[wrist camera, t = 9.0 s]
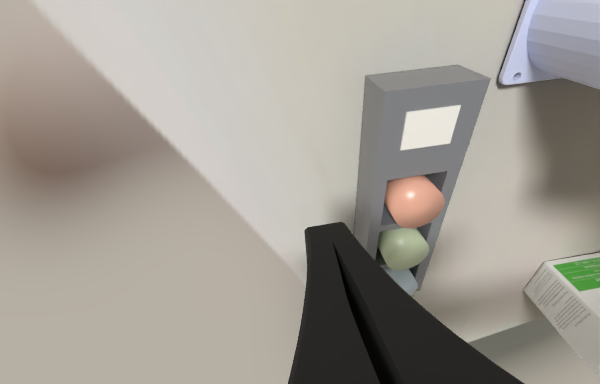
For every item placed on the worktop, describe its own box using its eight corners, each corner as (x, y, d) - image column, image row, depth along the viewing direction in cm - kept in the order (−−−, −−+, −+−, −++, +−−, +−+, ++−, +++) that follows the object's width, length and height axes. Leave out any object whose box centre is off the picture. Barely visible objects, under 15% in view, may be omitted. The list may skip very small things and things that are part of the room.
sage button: (414, 210, 24) (433, 236, 21) (407, 239, 26) (424, 266, 23) (374, 217, 23) (389, 244, 21) (370, 245, 26) (383, 273, 23)
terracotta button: (426, 161, 21) (450, 185, 18) (417, 198, 23) (437, 224, 21) (380, 168, 20) (398, 193, 18) (375, 205, 23) (391, 232, 20)
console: (457, 64, 18) (492, 78, 15) (405, 265, 30) (420, 291, 28) (365, 75, 17) (385, 92, 15) (350, 275, 30) (360, 302, 27)
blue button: (405, 249, 27) (421, 275, 24) (399, 271, 29) (413, 298, 26) (369, 255, 26) (381, 282, 24) (366, 278, 28) (377, 305, 26)
